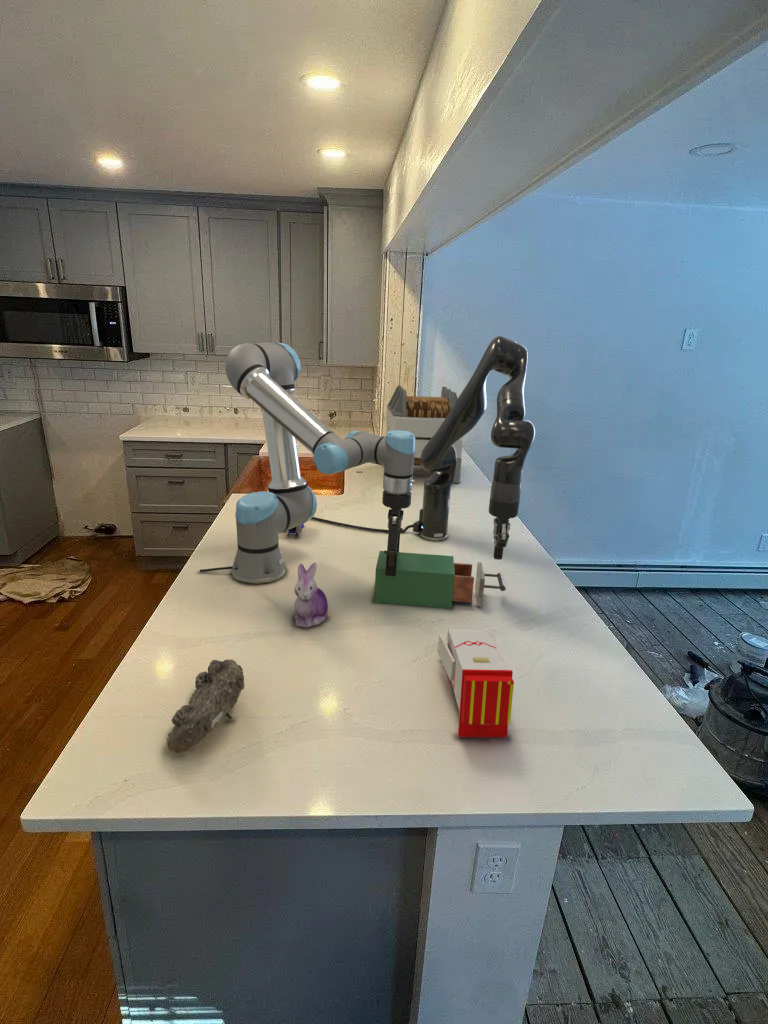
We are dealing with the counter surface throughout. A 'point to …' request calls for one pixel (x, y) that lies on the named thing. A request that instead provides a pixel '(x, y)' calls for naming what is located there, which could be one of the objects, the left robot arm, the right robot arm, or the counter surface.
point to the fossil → (206, 705)
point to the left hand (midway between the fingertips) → (392, 564)
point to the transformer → (422, 419)
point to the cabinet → (416, 580)
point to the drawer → (466, 581)
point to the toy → (478, 682)
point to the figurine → (309, 599)
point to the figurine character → (294, 530)
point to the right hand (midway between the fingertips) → (497, 558)
